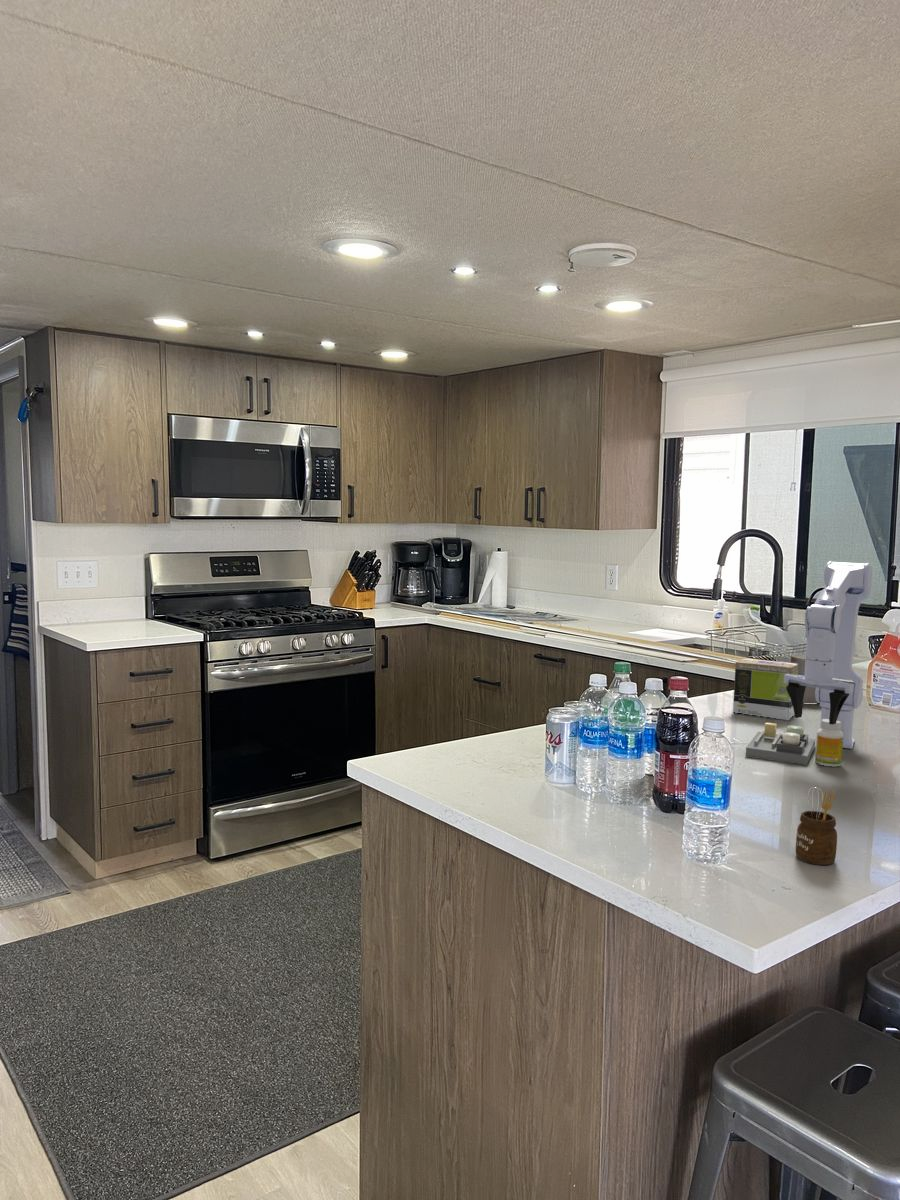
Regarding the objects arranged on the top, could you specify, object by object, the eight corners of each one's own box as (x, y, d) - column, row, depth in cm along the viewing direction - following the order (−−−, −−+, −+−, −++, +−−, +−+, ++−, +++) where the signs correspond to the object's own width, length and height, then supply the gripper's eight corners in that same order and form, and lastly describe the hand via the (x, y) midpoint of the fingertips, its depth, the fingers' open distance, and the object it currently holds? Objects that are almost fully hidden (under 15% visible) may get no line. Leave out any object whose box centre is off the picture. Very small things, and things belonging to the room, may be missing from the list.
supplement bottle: (843, 768, 195) (847, 724, 194) (817, 766, 196) (820, 722, 195) (838, 761, 201) (841, 719, 200) (812, 759, 202) (815, 717, 201)
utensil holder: (824, 852, 144) (830, 779, 143) (843, 867, 138) (849, 791, 137) (788, 851, 144) (793, 778, 143) (805, 866, 138) (811, 790, 137)
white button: (783, 741, 204) (784, 731, 204) (800, 743, 203) (800, 733, 202) (781, 744, 201) (781, 734, 201) (798, 746, 199) (799, 737, 199)
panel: (757, 739, 219) (758, 725, 218) (814, 747, 213) (815, 732, 212) (745, 756, 203) (746, 740, 202) (806, 765, 197) (808, 749, 196)
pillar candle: (784, 697, 274) (787, 648, 272) (817, 698, 273) (821, 650, 271) (791, 704, 265) (795, 654, 263) (826, 705, 263) (830, 655, 262)
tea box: (796, 715, 248) (799, 662, 247) (788, 721, 240) (792, 667, 239) (741, 707, 256) (744, 656, 255) (731, 713, 248) (735, 660, 247)
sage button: (787, 734, 211) (788, 724, 211) (803, 736, 210) (804, 727, 209) (785, 737, 208) (786, 727, 208) (802, 739, 206) (802, 730, 206)
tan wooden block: (765, 734, 213) (766, 722, 212) (775, 736, 212) (776, 723, 211) (764, 736, 211) (764, 723, 211) (774, 737, 210) (775, 725, 210)
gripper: (779, 656, 198) (775, 716, 199) (846, 666, 188) (841, 729, 189) (793, 653, 203) (789, 712, 204) (858, 662, 193) (854, 724, 194)
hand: (815, 720), depth 197 cm, fingers open, 7 cm apart
